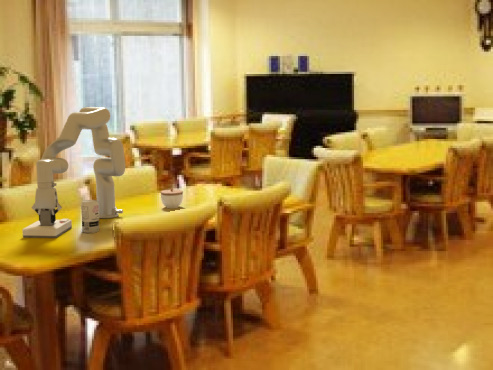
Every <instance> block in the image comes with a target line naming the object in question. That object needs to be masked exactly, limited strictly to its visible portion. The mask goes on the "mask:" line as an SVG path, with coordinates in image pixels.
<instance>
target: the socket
mask: <svg viewBox="0 0 493 370" xmlns="http://www.w3.org/2000/svg"><path fill="white" fill-rule="evenodd" d="M72 221H73V220H72V219H69V218H62V219H56V221H55V222H54V225H53V226H41V224H40V221H39V220H37V221H35V222H33V223H31V224H29V225H27V226H26V227H23V228H22V230H21V231H22V238H27V239H29V238H30V239H31V238H33V239H35V238H36V239H57V238H58V237H60V236H61V235H63V234H65V233H66V232H67V231H69V230H71V229H73V228H72V227H73V226H72V225H73V224H72V223H73V222H72Z"/></svg>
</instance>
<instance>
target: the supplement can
mask: <svg viewBox="0 0 493 370" xmlns="http://www.w3.org/2000/svg"><path fill="white" fill-rule="evenodd" d="M80 209H81V211H80V213H81V214H80V216H81V230H82V232H83V233H86V234H94V233H97V232H99V230H100V218H99V208H98V202H97V199H85V200H82V201H81V204H80Z"/></svg>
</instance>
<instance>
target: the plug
mask: <svg viewBox="0 0 493 370" xmlns="http://www.w3.org/2000/svg"><path fill="white" fill-rule="evenodd" d="M51 215H52V213H51V210H50V209H43V210H41V211H40V224H41V226H53V225H54V223H51Z"/></svg>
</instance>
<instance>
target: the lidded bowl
mask: <svg viewBox="0 0 493 370" xmlns="http://www.w3.org/2000/svg"><path fill="white" fill-rule="evenodd" d="M183 195H184V191H183V190H181V189H174V188H173V187H170V189H164V190H161V191H160V199H161V203H162V204H163V206H164V207H165V208H166V207H167V208H166V209H178V208H179V206H181V205H182V202H183V199H184V196H183Z"/></svg>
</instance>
